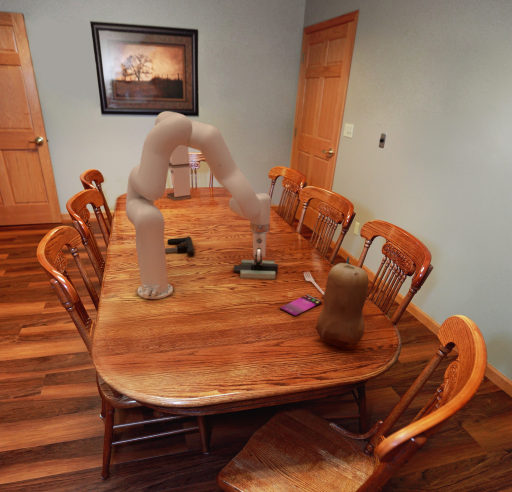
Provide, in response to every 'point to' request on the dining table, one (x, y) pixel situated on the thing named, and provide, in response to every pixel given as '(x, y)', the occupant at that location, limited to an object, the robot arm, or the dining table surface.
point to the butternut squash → (343, 306)
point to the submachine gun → (181, 246)
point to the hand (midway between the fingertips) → (257, 270)
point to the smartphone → (301, 305)
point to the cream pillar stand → (180, 173)
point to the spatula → (245, 267)
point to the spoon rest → (257, 273)
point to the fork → (312, 281)
